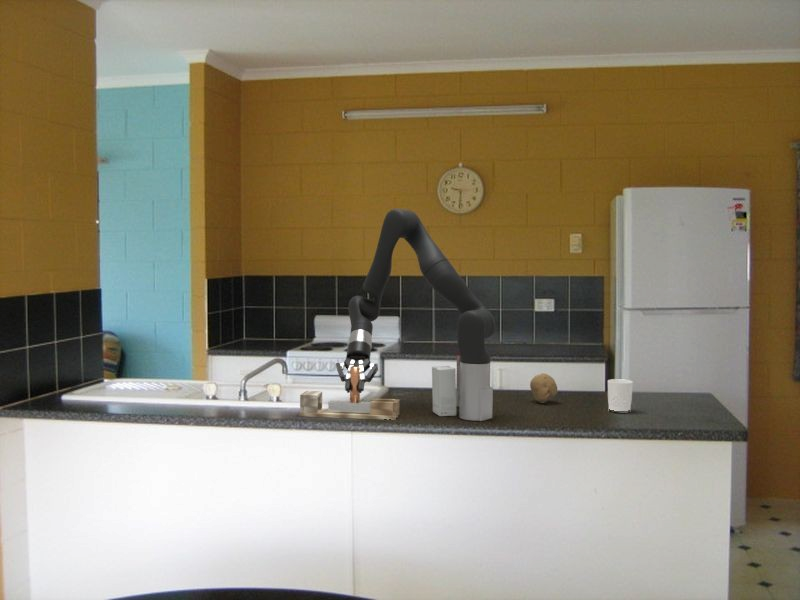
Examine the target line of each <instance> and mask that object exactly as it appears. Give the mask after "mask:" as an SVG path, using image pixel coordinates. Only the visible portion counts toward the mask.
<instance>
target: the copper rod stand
mask: <svg viewBox="0 0 800 600" xmlns="http://www.w3.org/2000/svg"><path fill="white" fill-rule="evenodd" d="M360 379H361V378H360V367H359V366H351V367H350V393H349V400H332V399H331V400H329V401H328V408H327V409H328V412H346V413H370V402H371V401H360V399H361V393H359V390H358V389H359V380H360Z"/></svg>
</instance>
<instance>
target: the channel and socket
mask: <svg viewBox="0 0 800 600" xmlns="http://www.w3.org/2000/svg"><path fill="white" fill-rule="evenodd" d="M299 398H300V399H299V402H300V403H299V413H298V416H299V417H306V418H309V417H312V418H333V419H334V418H337V419H359V420H360V419H361V420H362V419H364V420H384V419H387V420H388V421H389V419H391V420H392V421H396V420H397V419H398V417H399V416H400V399H399V398H398V399H396V398H372V400H371V401H369V402H370V413H346V412H328V408H323V390H305V391H303V392H302V393H301V394H299ZM398 415H399V416H398ZM396 418H397V419H396ZM391 420H390V421H391Z"/></svg>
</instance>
